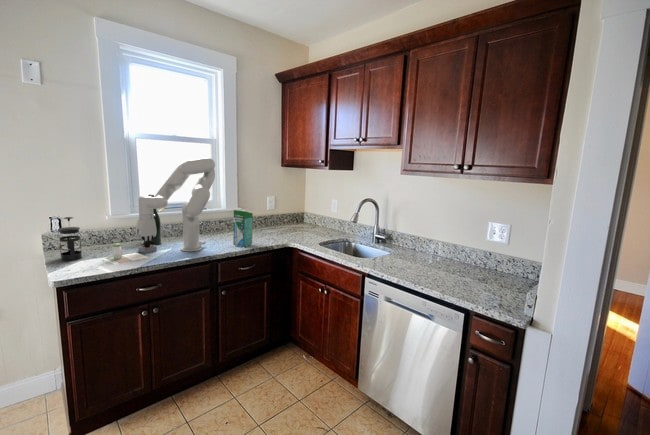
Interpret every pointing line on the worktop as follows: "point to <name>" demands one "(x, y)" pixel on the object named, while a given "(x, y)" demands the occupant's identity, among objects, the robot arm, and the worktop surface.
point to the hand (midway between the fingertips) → (147, 247)
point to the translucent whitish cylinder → (117, 251)
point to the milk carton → (242, 228)
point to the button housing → (147, 249)
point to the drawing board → (125, 258)
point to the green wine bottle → (157, 238)
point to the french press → (70, 243)
